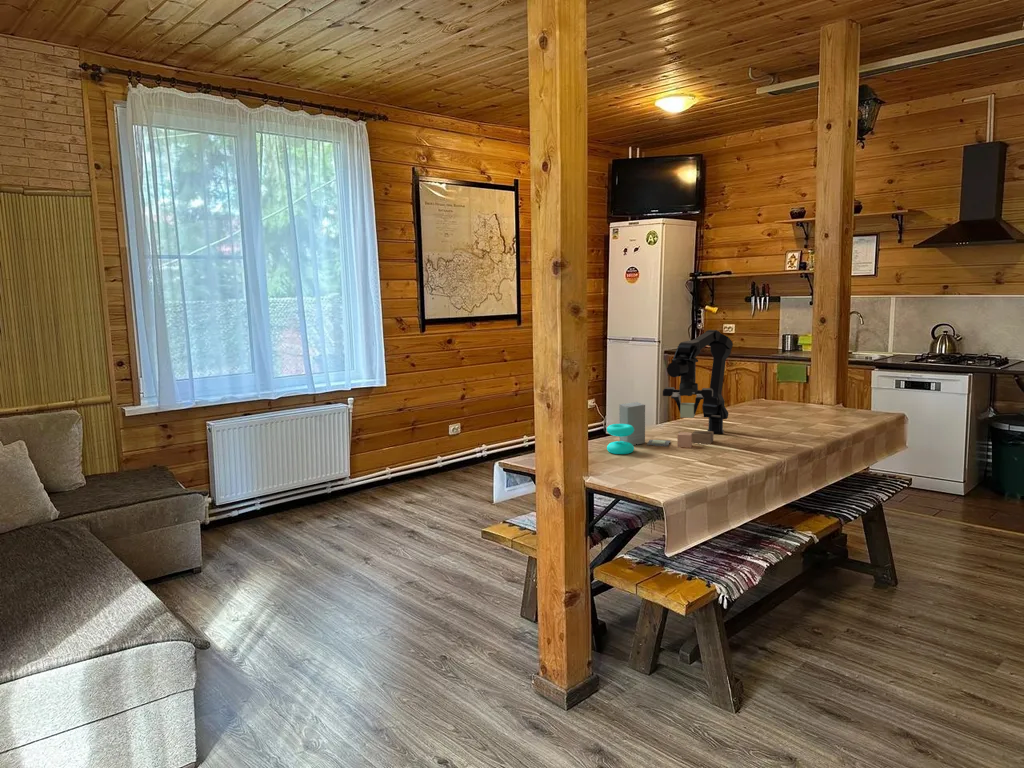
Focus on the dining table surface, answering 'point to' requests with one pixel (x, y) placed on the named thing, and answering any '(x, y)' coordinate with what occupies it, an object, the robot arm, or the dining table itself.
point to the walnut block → (702, 437)
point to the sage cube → (687, 410)
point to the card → (658, 442)
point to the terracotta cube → (684, 439)
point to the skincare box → (633, 421)
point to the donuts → (620, 446)
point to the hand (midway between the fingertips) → (687, 413)
